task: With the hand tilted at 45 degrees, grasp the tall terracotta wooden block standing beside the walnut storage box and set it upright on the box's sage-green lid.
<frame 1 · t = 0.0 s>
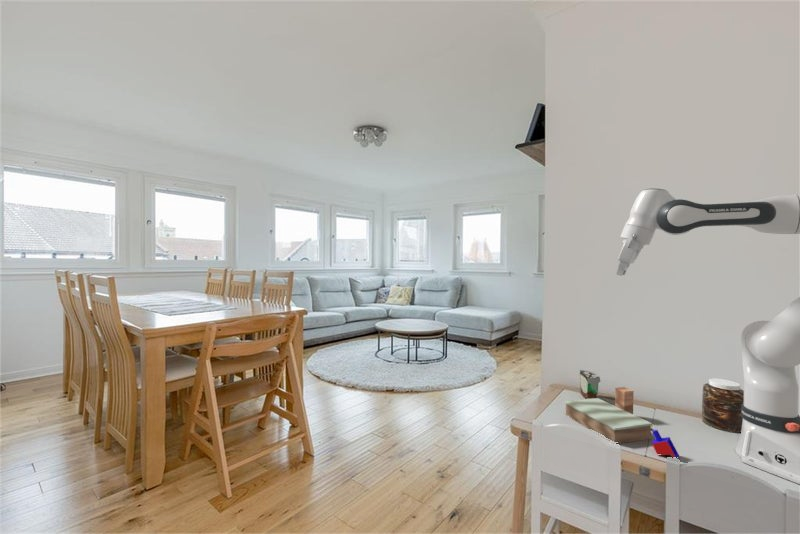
hand: (620, 274, 127), 52 cm above the table, tool tilted 20°, fingers open, 8 cm apart
food container: (591, 398, 153), on the table
tall block: (623, 416, 135), on the table
jar: (723, 425, 128), on the table
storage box: (605, 426, 127), on the table
toy building block: (664, 455, 108), on the table
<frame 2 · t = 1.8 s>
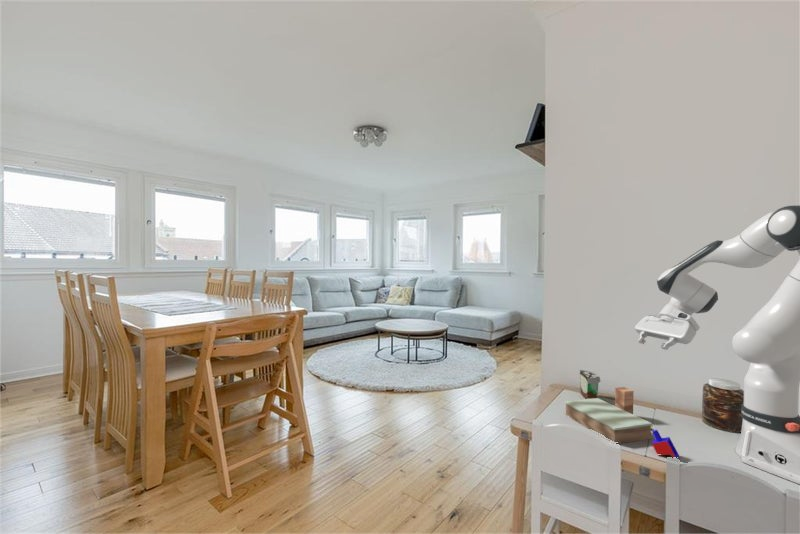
hand: (651, 345, 137), 25 cm above the table, tool tilted 45°, fingers open, 8 cm apart
nothing on the table moved.
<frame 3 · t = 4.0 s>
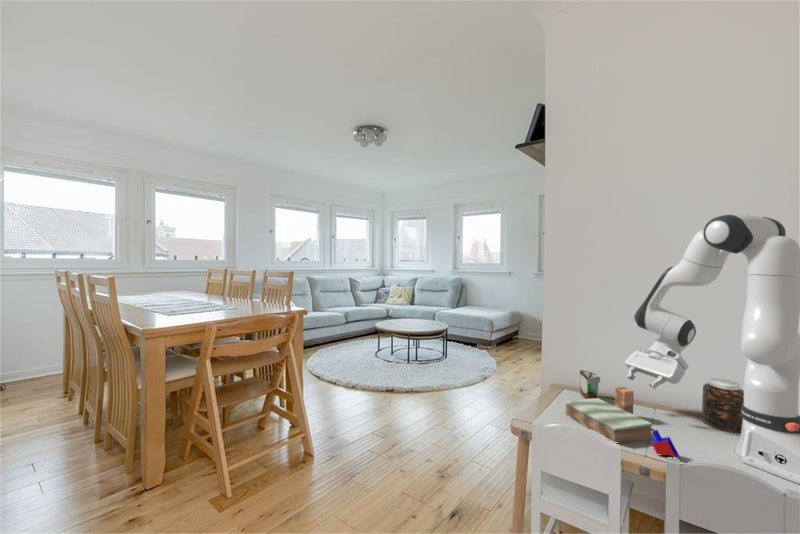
hand: (640, 382, 137), 12 cm above the table, tool tilted 45°, fingers open, 8 cm apart
nothing on the table moved.
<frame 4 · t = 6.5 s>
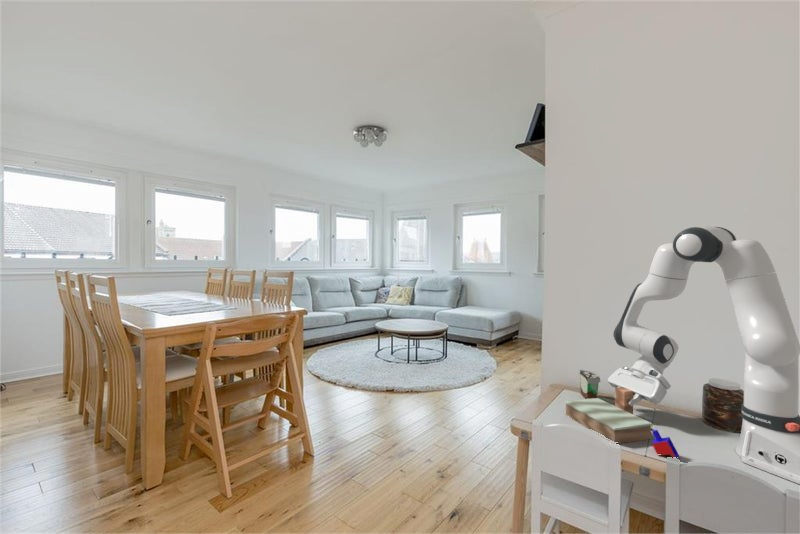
hand: (622, 402, 134), 5 cm above the table, tool tilted 45°, fingers closed on tall block, 4 cm apart
tall block: (623, 416, 135), on the table, touching gripper
everything else where it was.
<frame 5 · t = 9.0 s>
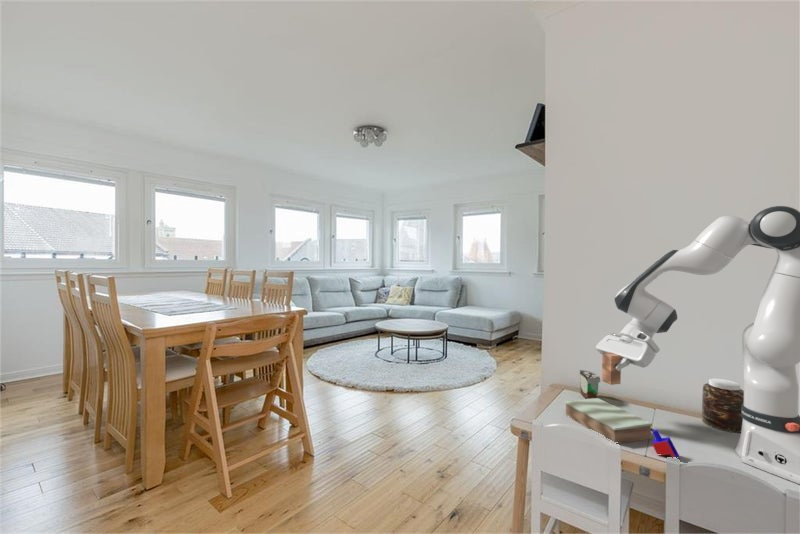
hand: (609, 367, 129), 20 cm above the table, tool tilted 45°, fingers closed on tall block, 4 cm apart
tall block: (611, 382, 129), point 14 cm above the table, touching gripper
everything else where it was.
when the fingers open (12 cm above the table, at t = 11.8 s): tall block drops 1 cm, resting on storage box.
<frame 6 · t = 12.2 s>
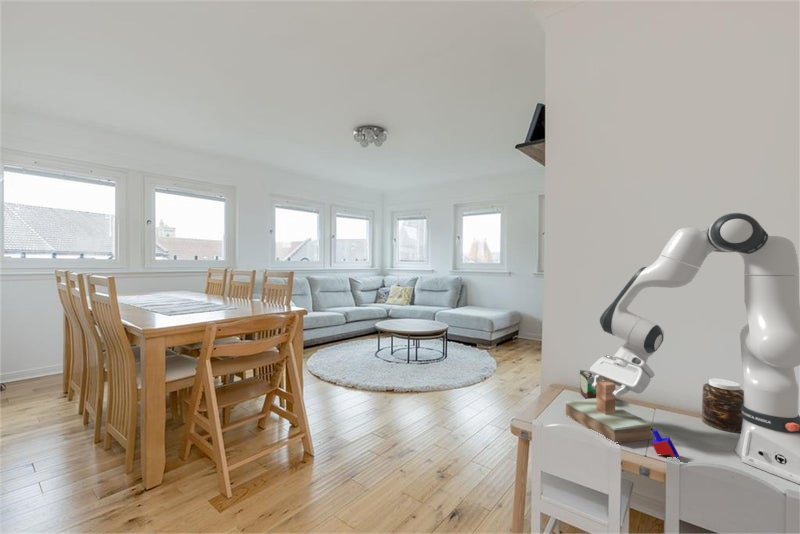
hand: (604, 391, 126), 12 cm above the table, tool tilted 45°, fingers open, 8 cm apart
tall block: (605, 411, 126), point 5 cm above the table, touching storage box
everything else where it was.
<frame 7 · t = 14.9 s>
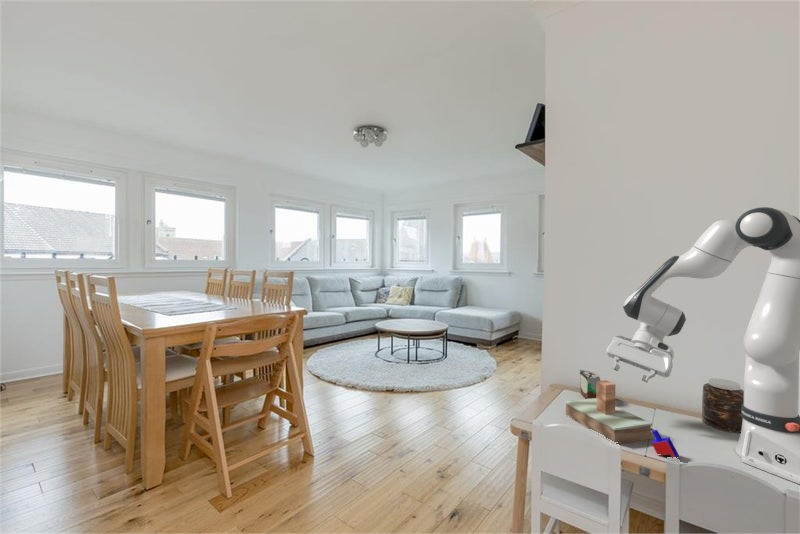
hand: (629, 375, 131), 16 cm above the table, tool tilted 40°, fingers open, 8 cm apart
nothing on the table moved.
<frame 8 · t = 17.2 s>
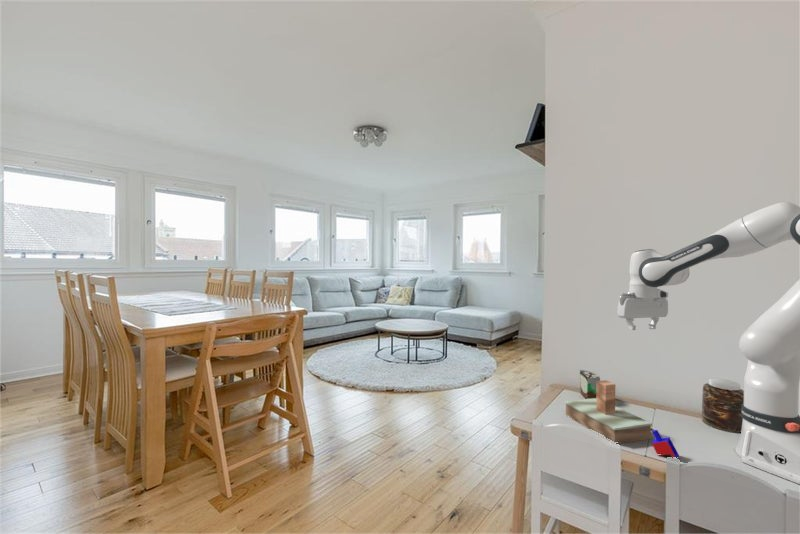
hand: (642, 329, 139), 31 cm above the table, tool pointing down, fingers open, 8 cm apart
nothing on the table moved.
at the end: tall block inside the target area on the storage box (0.0 cm from its centre), point 5.0 cm above the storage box's base; tall block tilted 0°; the gripper is holding nothing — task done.
